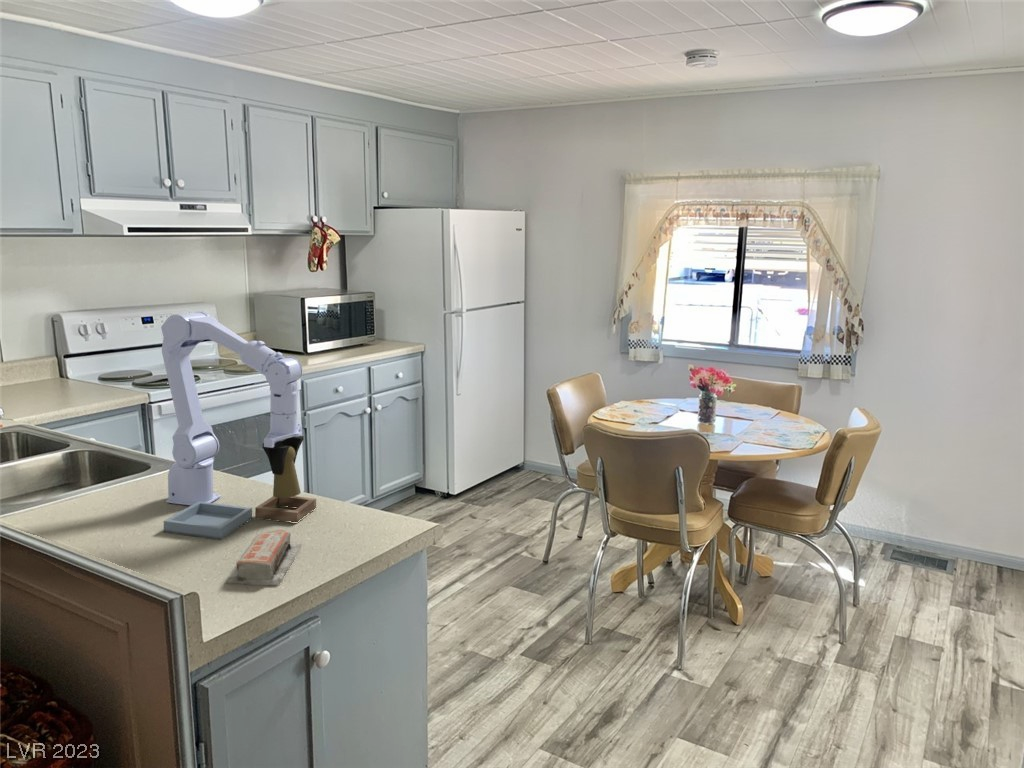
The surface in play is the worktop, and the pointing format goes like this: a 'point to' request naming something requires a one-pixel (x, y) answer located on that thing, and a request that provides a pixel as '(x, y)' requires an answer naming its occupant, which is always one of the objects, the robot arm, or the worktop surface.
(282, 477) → the cork
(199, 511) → the parts tray
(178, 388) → the robot arm
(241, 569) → the packaged product
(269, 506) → the frame
